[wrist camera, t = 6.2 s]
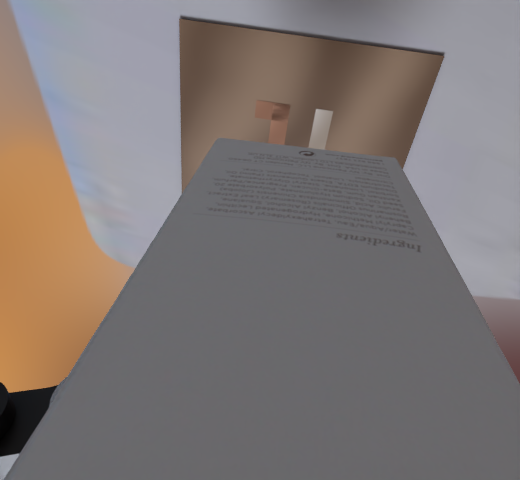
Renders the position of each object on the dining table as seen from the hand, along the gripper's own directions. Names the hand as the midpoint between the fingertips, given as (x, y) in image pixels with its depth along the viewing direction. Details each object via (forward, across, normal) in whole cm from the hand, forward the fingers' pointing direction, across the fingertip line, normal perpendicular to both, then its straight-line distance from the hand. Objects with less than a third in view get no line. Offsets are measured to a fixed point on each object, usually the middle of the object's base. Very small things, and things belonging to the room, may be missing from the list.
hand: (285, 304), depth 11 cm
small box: (+3, 0, 0) cm, 3 cm away
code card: (+14, 0, 0) cm, 14 cm away
